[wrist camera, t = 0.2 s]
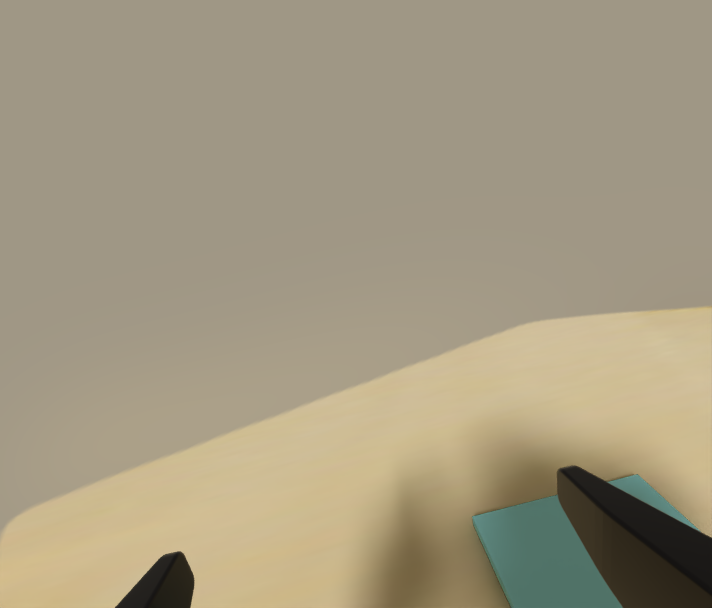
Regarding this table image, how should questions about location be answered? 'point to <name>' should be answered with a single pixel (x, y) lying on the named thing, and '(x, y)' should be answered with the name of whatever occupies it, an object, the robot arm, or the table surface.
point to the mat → (552, 552)
